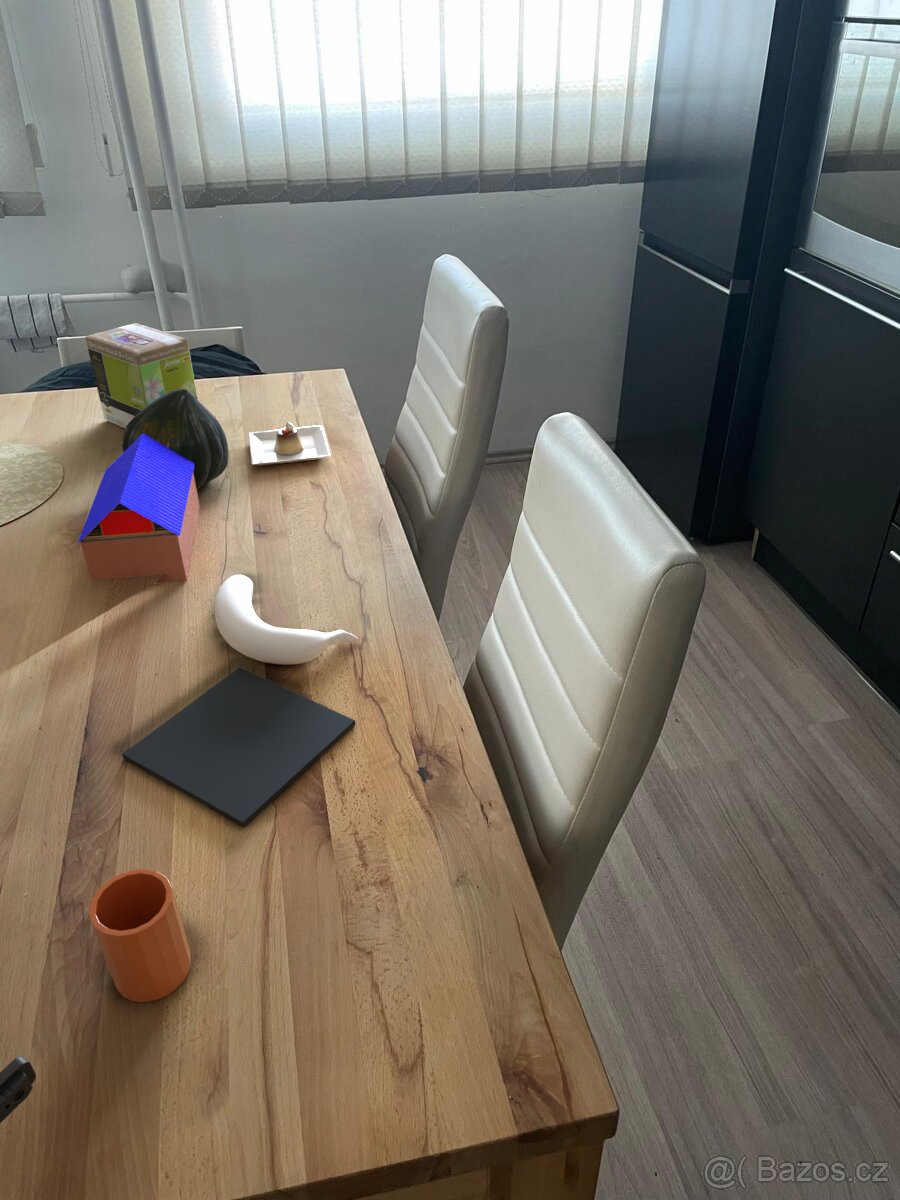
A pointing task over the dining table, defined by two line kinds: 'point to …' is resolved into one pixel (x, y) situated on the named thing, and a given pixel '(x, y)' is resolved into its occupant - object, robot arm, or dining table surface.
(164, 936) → the cup
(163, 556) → the house
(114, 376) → the tea box
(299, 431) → the dessert
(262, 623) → the banana
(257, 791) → the mat
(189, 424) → the squash
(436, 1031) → the dining table surface
